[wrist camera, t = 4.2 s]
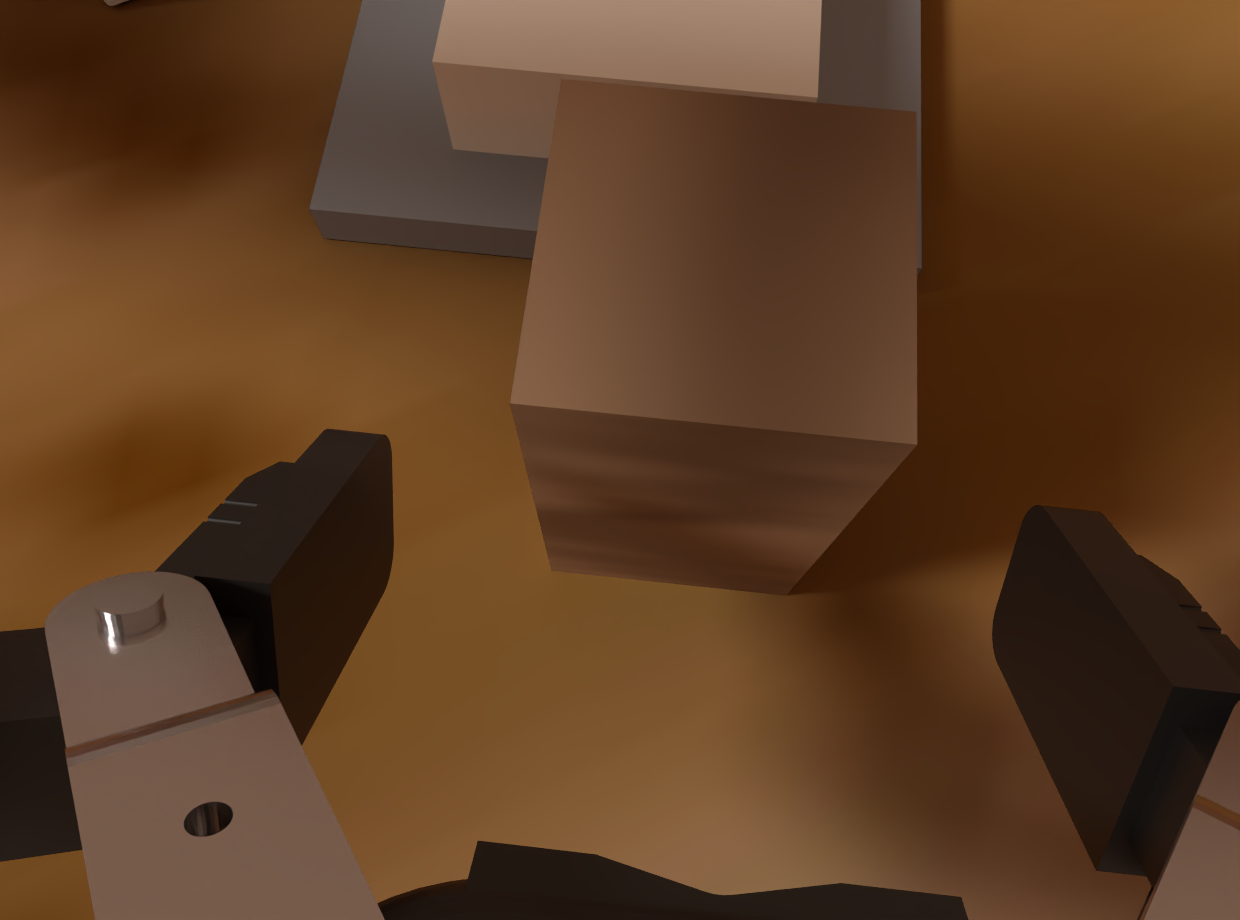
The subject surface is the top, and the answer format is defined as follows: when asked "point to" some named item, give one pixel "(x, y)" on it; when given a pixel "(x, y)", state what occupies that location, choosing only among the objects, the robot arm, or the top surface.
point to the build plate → (508, 194)
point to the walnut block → (716, 331)
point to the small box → (114, 2)
